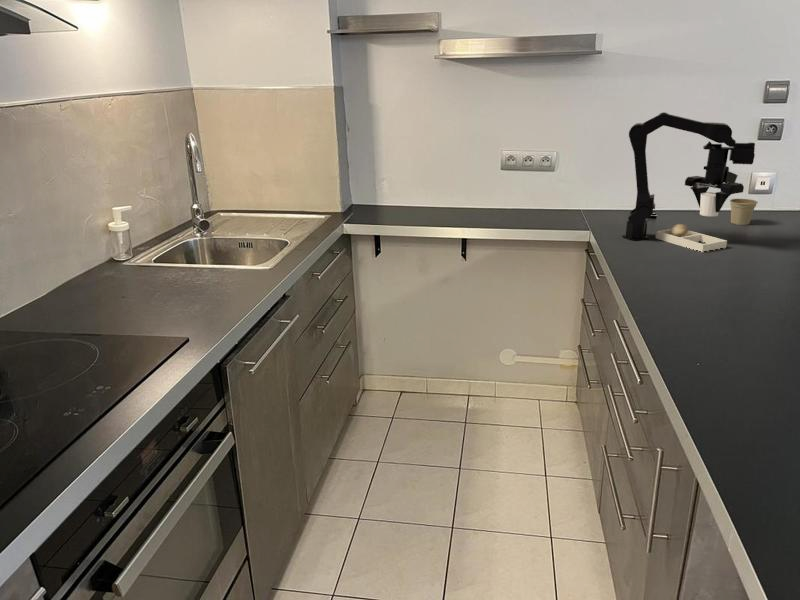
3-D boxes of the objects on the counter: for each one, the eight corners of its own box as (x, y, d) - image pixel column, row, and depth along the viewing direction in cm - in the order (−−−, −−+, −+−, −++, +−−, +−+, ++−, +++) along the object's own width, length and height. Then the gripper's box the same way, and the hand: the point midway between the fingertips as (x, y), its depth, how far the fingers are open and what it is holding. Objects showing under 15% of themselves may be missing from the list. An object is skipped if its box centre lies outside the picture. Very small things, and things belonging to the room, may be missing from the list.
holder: (702, 252, 200) (703, 245, 200) (655, 238, 218) (656, 231, 217) (726, 248, 204) (727, 240, 203) (678, 234, 222) (679, 227, 221)
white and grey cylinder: (718, 217, 203) (721, 196, 201) (695, 215, 207) (698, 194, 205) (721, 213, 209) (725, 193, 206) (699, 211, 212) (702, 191, 210)
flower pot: (759, 226, 229) (763, 203, 226) (733, 226, 229) (737, 204, 226) (746, 220, 238) (749, 198, 235) (721, 221, 238) (725, 198, 235)
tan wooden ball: (678, 242, 212) (680, 226, 210) (666, 238, 217) (668, 223, 215) (690, 240, 214) (693, 224, 212) (678, 236, 219) (680, 221, 217)
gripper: (759, 164, 197) (750, 212, 202) (710, 158, 213) (703, 202, 218) (735, 167, 192) (726, 216, 198) (686, 160, 208) (680, 206, 214)
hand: (709, 210), depth 207 cm, fingers closed on white and grey cylinder, 6 cm apart
